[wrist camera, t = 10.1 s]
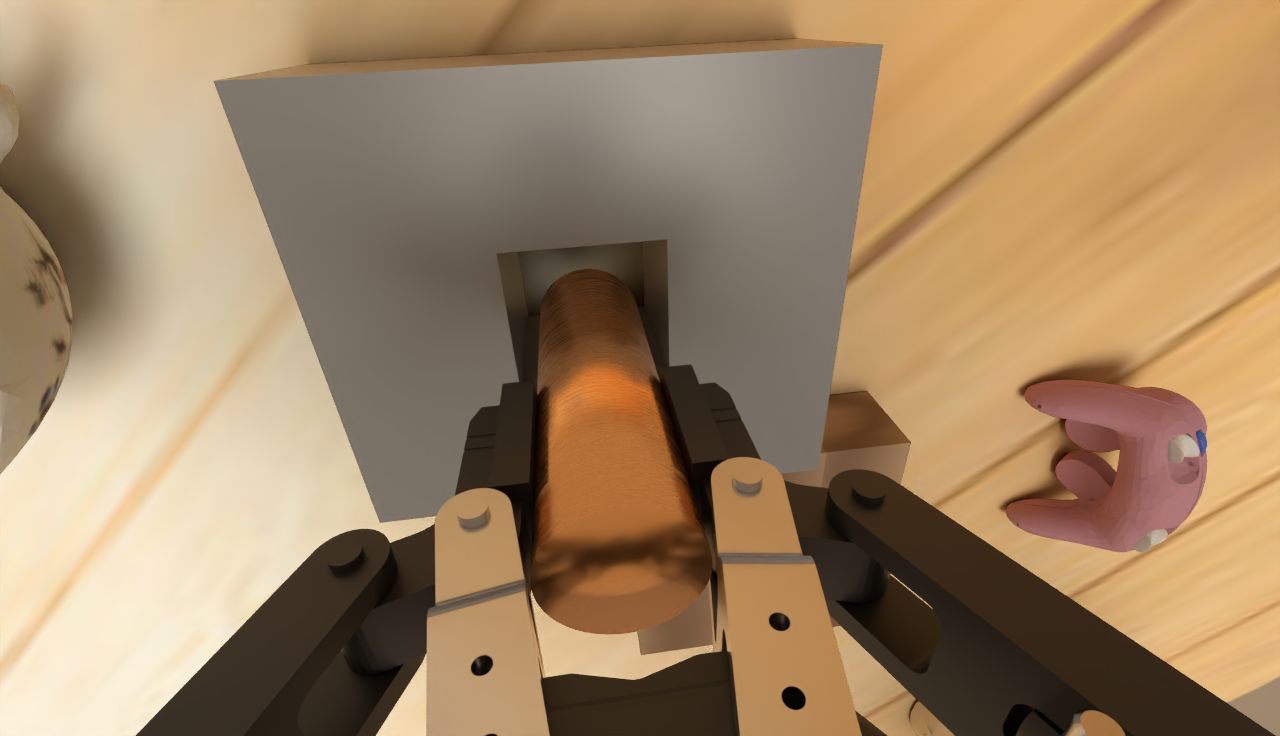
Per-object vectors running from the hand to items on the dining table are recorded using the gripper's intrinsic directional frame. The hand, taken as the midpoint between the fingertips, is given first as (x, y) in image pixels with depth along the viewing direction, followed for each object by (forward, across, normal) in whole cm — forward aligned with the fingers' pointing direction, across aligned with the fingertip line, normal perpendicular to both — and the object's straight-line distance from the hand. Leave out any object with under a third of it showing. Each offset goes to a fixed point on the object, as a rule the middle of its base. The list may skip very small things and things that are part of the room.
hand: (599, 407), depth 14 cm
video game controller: (+11, -25, +13) cm, 30 cm away
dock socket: (+11, 0, 0) cm, 11 cm away
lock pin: (+5, 0, 0) cm, 5 cm away
